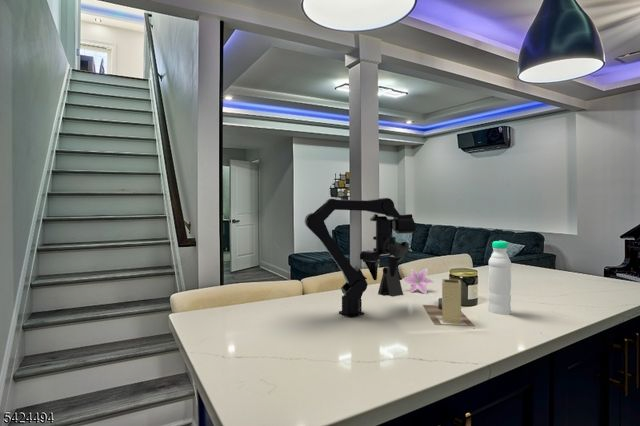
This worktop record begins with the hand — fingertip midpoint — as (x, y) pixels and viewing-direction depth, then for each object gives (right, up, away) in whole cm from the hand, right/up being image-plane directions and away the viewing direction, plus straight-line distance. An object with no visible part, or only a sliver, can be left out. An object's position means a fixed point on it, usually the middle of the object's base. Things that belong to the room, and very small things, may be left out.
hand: (384, 278), depth 125 cm
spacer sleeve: (+19, -11, -11) cm, 25 cm away
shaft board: (+20, -12, -5) cm, 24 cm away
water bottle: (+40, -12, -1) cm, 42 cm away
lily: (+20, -11, +30) cm, 38 cm away
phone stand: (+7, -12, +24) cm, 27 cm away
